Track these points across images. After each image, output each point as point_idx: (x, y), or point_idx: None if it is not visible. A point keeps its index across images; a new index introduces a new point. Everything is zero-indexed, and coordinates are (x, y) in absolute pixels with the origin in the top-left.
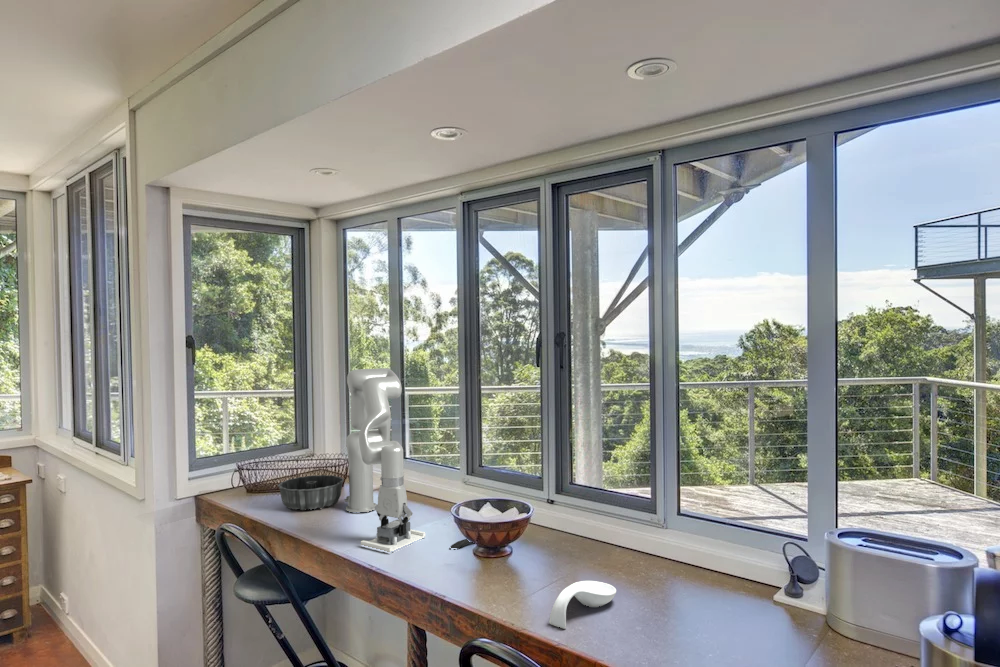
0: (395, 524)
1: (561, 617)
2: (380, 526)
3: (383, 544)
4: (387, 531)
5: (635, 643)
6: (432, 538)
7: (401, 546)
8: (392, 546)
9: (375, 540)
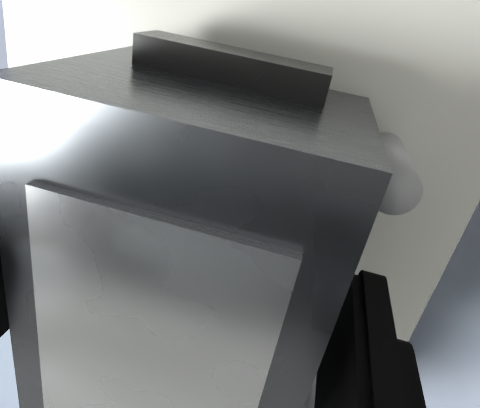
0: (110, 370)
1: None
2: (341, 254)
3: (235, 41)
4: (77, 83)
5: None
6: (7, 351)
7: (11, 66)
8: (85, 15)
9: (429, 152)
